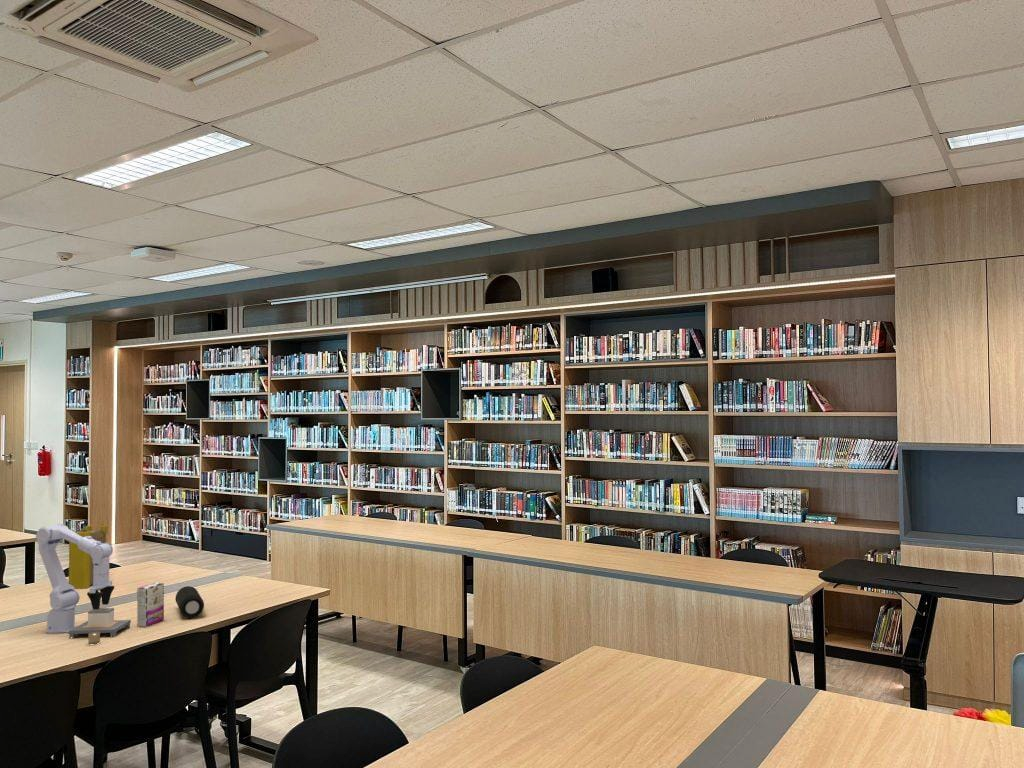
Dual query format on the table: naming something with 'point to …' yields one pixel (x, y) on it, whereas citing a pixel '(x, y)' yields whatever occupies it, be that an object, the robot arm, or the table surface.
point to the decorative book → (83, 558)
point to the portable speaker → (189, 602)
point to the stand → (100, 628)
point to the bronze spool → (94, 638)
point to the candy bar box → (150, 604)
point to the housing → (101, 617)
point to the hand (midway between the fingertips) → (100, 606)
